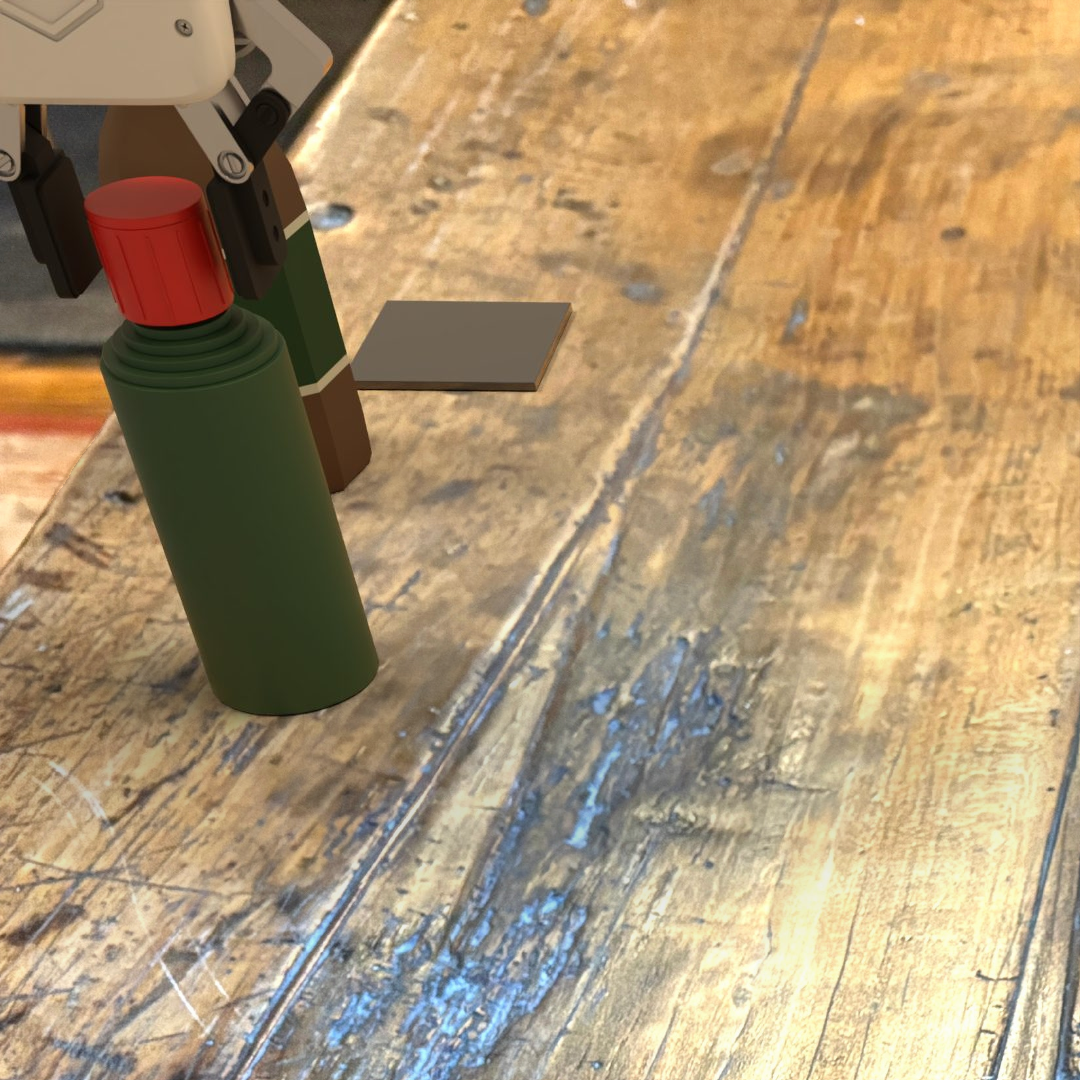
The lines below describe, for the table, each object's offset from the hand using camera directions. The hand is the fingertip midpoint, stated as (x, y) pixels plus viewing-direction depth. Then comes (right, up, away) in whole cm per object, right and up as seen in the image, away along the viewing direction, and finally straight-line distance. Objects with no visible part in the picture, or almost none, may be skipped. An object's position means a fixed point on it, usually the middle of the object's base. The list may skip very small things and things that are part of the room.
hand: (171, 278), depth 90 cm
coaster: (-2, +11, +32) cm, 34 cm away
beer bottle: (-6, +2, +23) cm, 24 cm away
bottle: (-1, -11, +11) cm, 16 cm away
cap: (0, -1, +1) cm, 1 cm away
